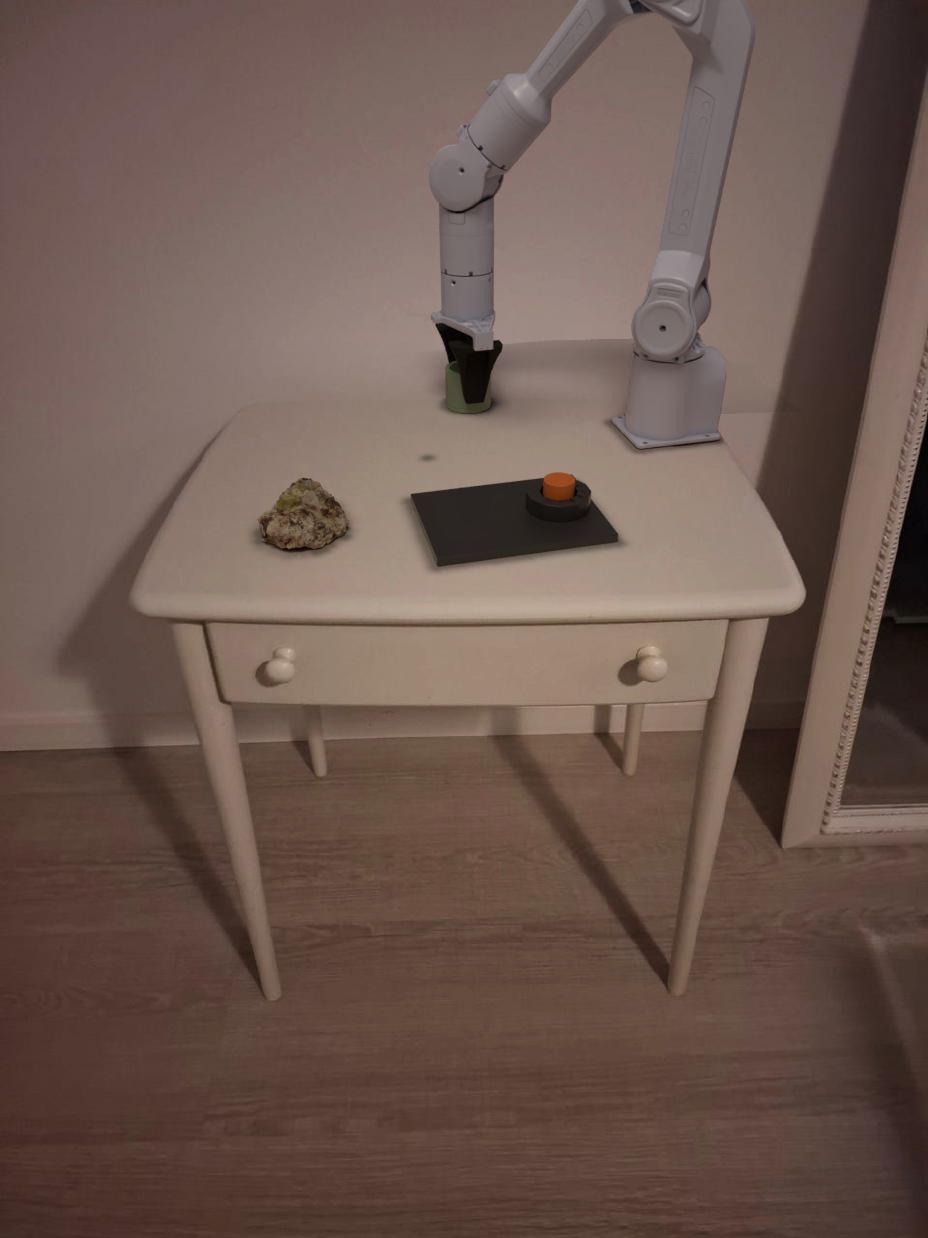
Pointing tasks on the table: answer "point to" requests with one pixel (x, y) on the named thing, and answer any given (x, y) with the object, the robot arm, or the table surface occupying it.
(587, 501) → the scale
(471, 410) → the cup
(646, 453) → the table surface
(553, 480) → the power button
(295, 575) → the table surface
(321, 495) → the mineral rock
